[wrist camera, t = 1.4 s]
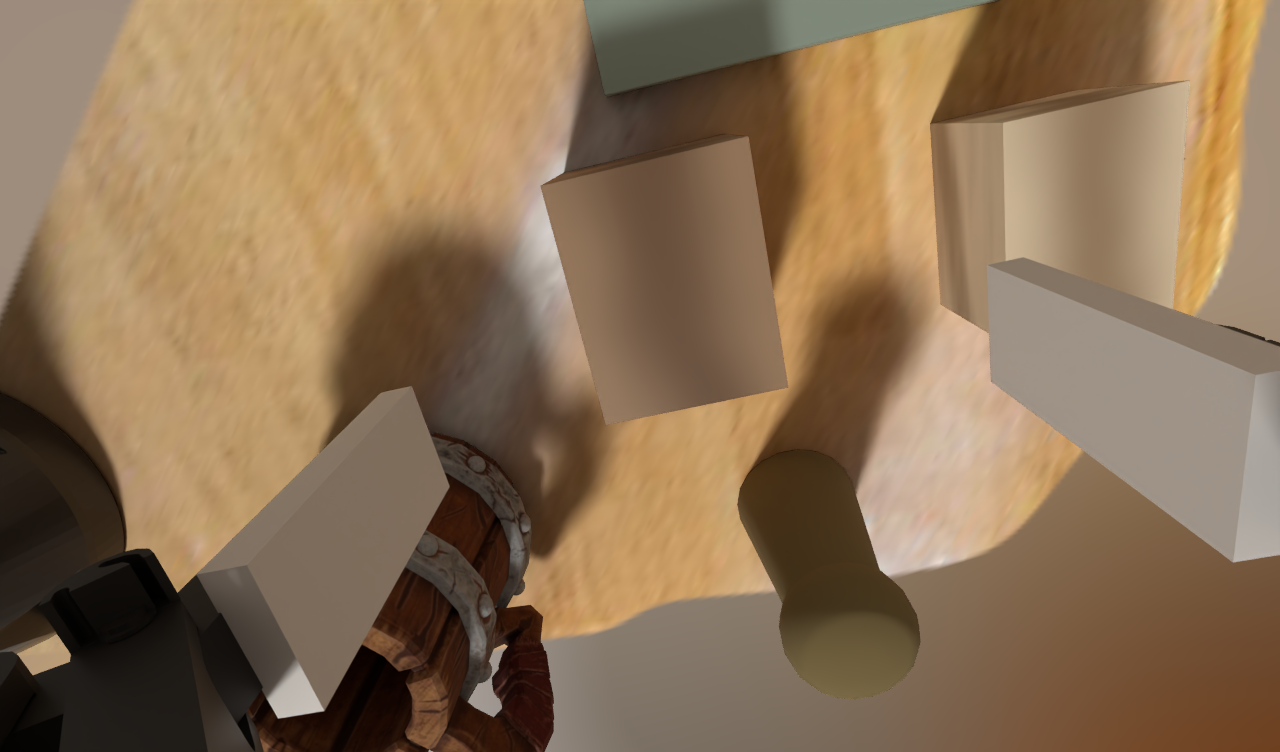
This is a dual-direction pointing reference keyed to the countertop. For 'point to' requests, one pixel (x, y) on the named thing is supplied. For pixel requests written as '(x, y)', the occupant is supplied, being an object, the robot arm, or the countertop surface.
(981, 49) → the countertop surface
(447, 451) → the mug
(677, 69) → the baseplate
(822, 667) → the olive pepper shaker
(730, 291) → the walnut brick
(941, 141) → the maple cap block
